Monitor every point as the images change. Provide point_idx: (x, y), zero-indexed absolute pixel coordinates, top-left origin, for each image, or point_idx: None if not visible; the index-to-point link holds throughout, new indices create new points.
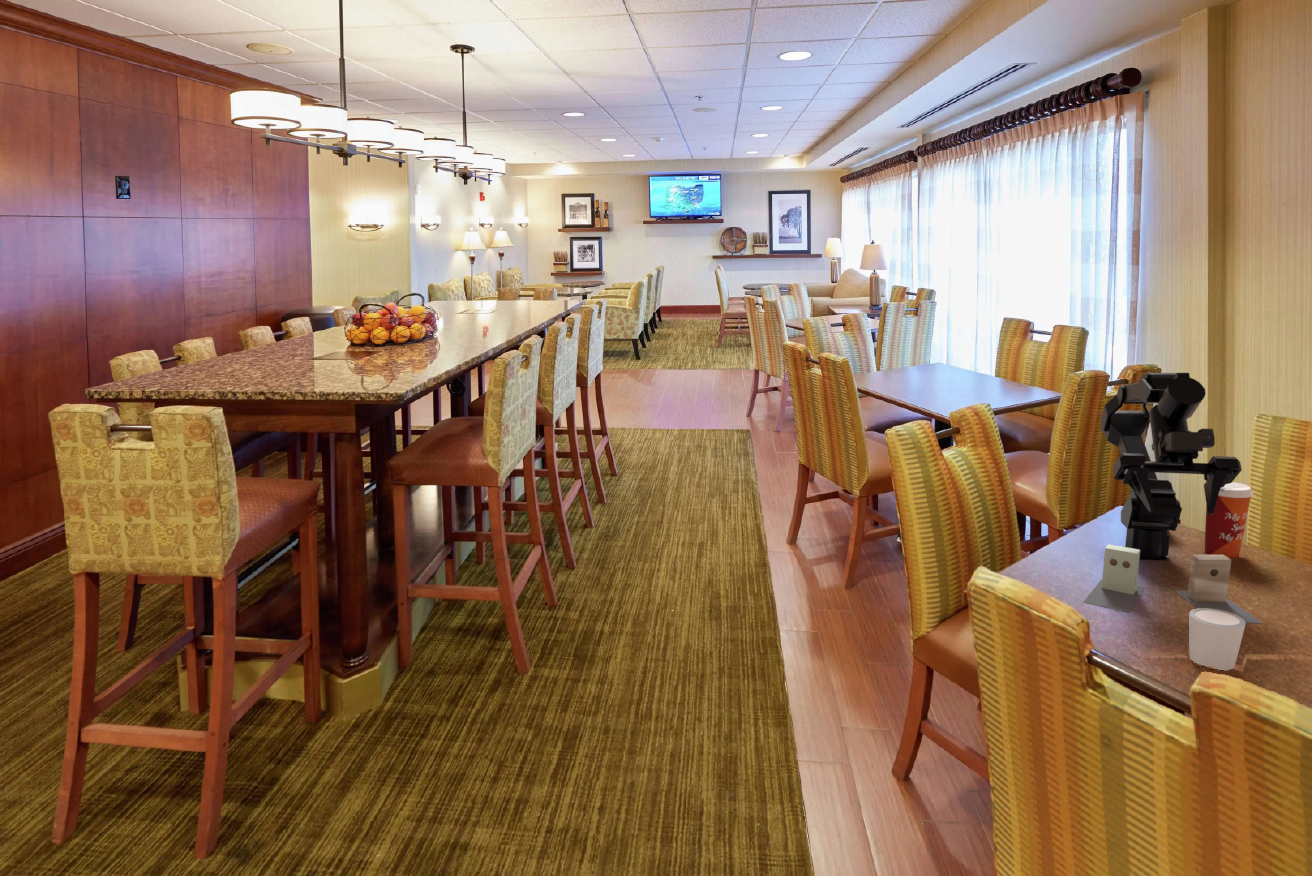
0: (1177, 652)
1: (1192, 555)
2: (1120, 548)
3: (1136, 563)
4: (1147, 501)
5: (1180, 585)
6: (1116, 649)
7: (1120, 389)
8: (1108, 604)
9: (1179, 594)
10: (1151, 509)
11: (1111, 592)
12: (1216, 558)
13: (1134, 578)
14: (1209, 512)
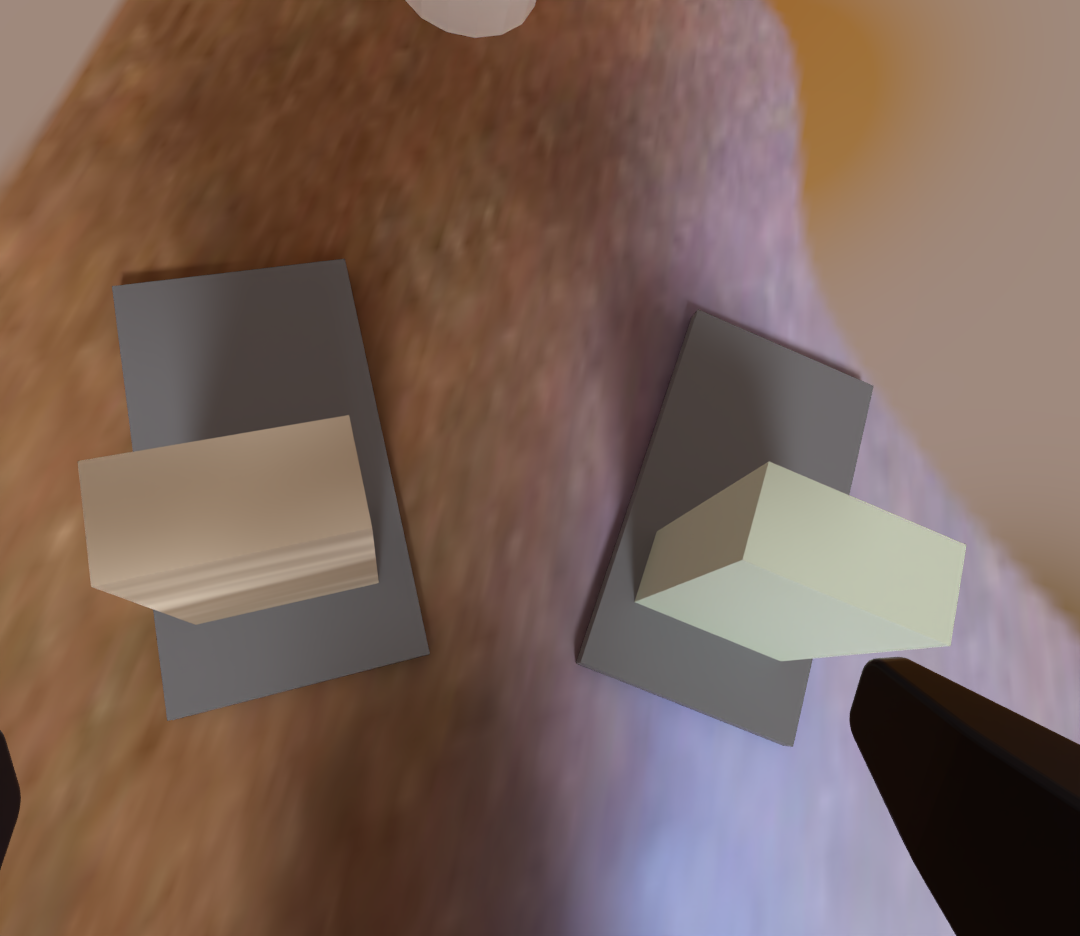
0: (565, 33)
1: (370, 525)
2: (871, 559)
3: (732, 489)
4: (1031, 728)
5: (350, 830)
6: (755, 38)
7: None
8: (774, 378)
9: (417, 598)
10: (890, 658)
11: None
12: (199, 468)
13: (693, 510)
14: (2, 806)
